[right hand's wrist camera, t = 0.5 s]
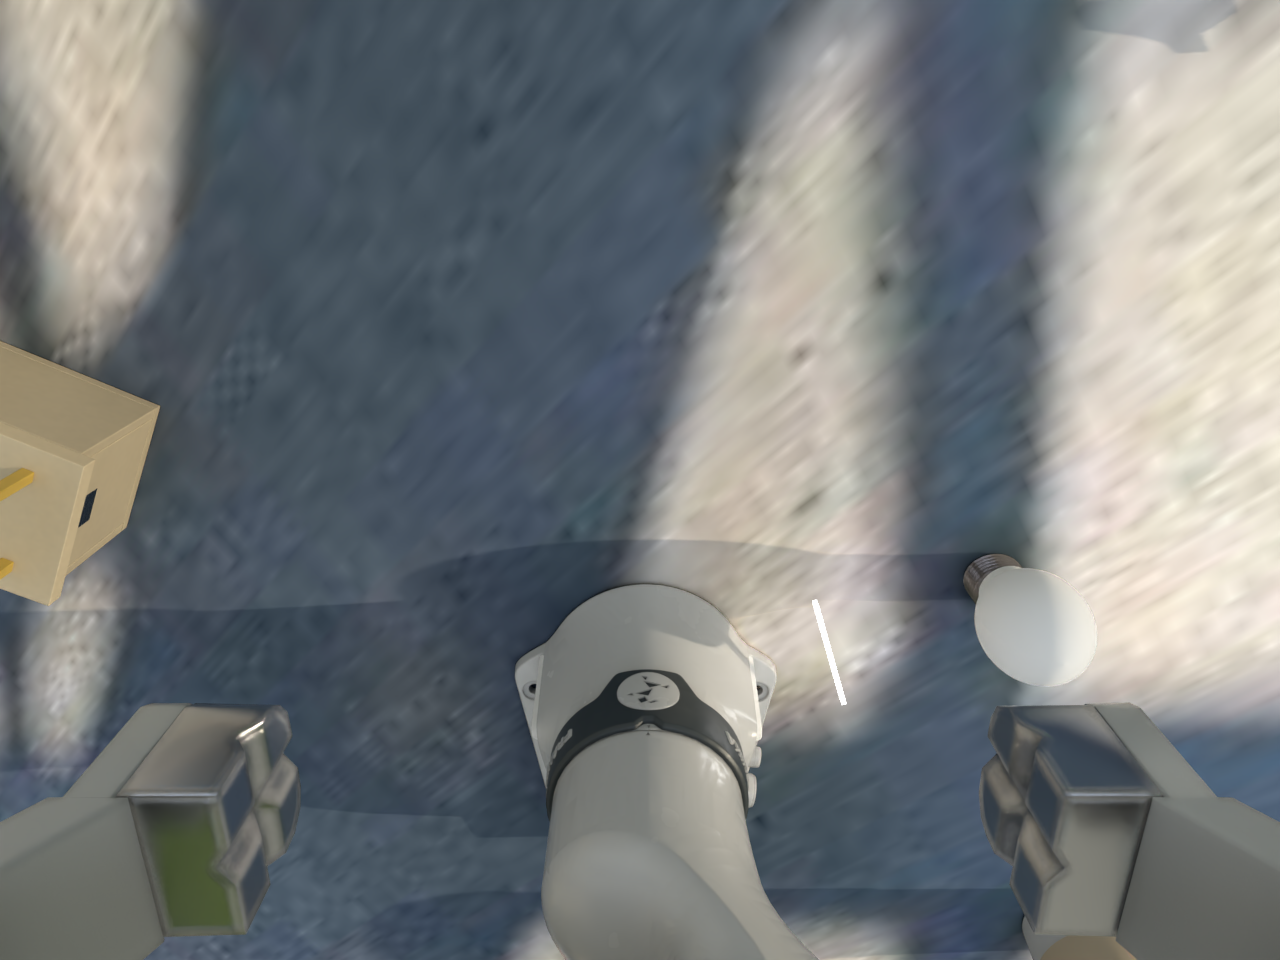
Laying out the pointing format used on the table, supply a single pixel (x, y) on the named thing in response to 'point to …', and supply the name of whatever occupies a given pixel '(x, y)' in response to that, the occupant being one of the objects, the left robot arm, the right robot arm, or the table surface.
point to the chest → (82, 435)
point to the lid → (38, 512)
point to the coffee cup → (1073, 947)
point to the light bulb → (1030, 621)
